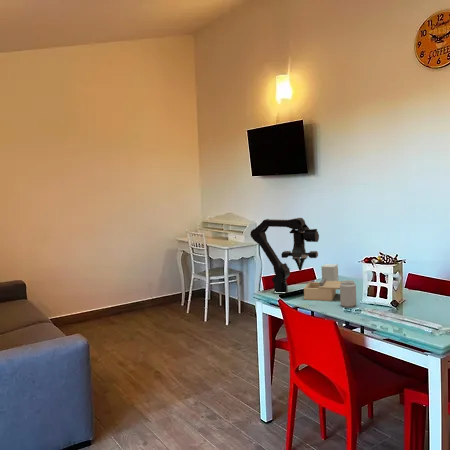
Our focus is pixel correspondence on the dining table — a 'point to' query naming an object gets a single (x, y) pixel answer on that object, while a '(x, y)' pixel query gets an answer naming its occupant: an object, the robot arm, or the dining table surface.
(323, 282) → the lid
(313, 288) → the mailer box
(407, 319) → the dining table surface
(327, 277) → the supplement box
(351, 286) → the can
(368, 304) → the dining table surface
